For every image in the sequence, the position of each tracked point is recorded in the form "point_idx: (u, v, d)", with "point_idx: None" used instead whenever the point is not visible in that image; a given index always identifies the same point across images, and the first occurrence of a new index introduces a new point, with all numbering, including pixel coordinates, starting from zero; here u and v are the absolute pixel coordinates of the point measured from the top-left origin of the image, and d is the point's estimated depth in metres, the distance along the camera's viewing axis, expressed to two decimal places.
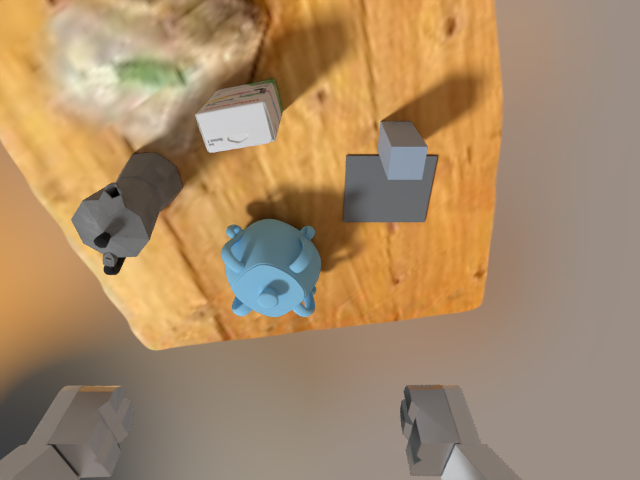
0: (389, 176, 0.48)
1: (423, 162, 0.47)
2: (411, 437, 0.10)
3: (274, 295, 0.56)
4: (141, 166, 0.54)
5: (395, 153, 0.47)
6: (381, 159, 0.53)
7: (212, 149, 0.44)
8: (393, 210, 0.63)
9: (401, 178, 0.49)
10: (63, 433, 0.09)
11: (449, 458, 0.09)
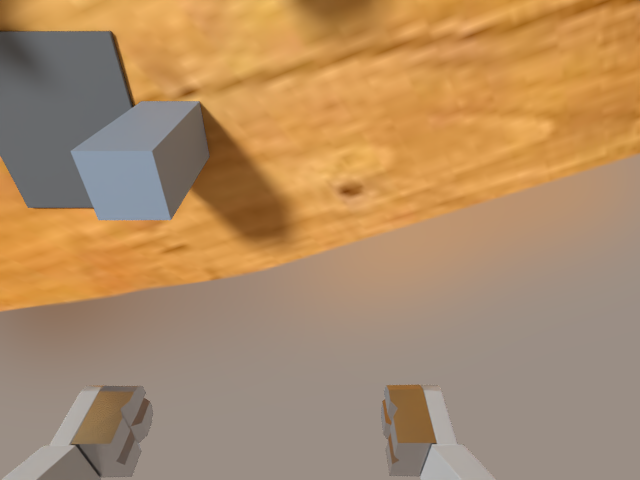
0: (79, 154, 0.21)
1: (136, 217, 0.23)
2: (390, 437, 0.10)
3: None
4: None
5: (138, 160, 0.21)
6: (122, 117, 0.25)
7: None
8: (25, 148, 0.30)
9: (85, 180, 0.21)
10: (87, 433, 0.09)
11: (426, 459, 0.09)
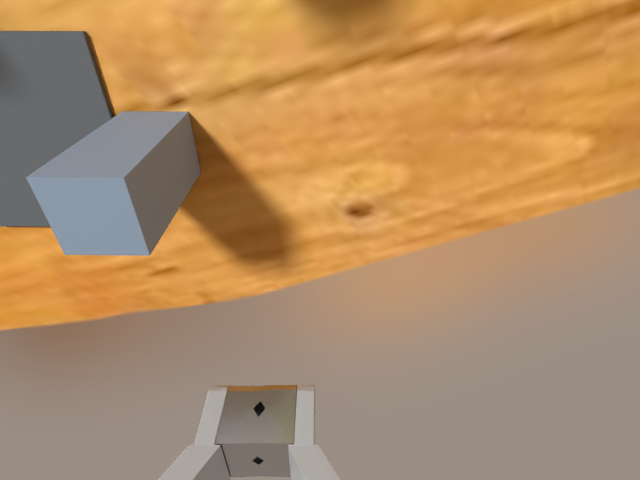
0: (37, 180, 0.17)
1: (109, 252, 0.19)
2: None
3: None
4: None
5: (108, 189, 0.17)
6: (96, 131, 0.22)
7: None
8: None
9: (46, 210, 0.18)
10: (228, 433, 0.09)
11: (290, 459, 0.09)
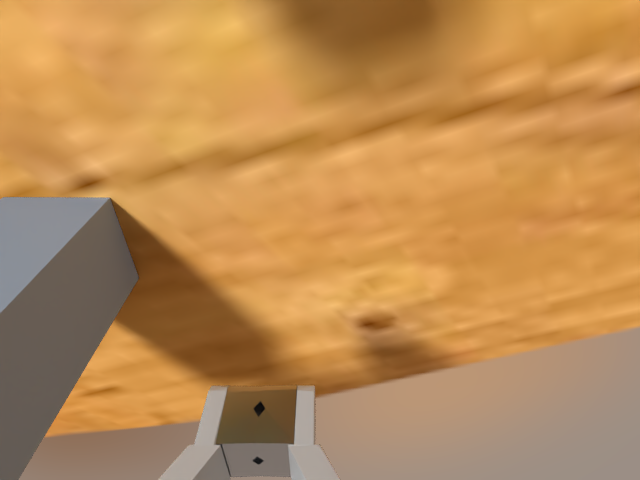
0: None
1: None
2: None
3: None
4: None
5: None
6: None
7: None
8: None
9: None
10: (228, 433, 0.09)
11: (289, 459, 0.09)
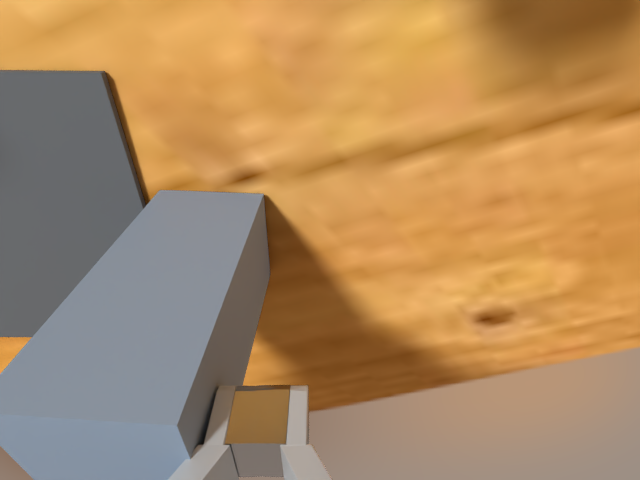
0: None
1: None
2: None
3: None
4: None
5: (142, 437, 0.08)
6: (120, 244, 0.13)
7: None
8: None
9: (14, 453, 0.09)
10: (237, 433, 0.09)
11: (282, 459, 0.09)
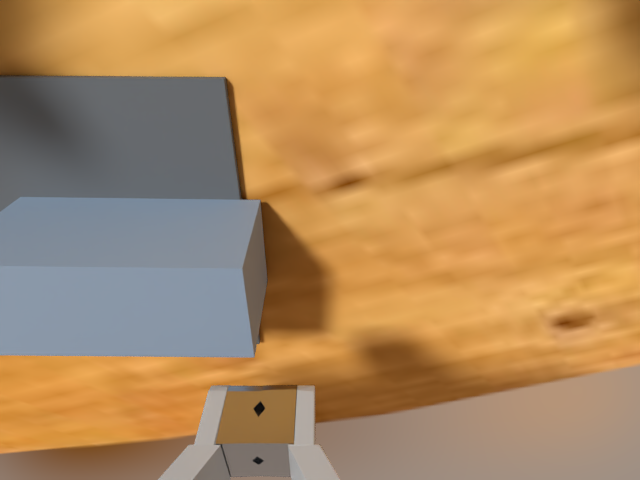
0: None
1: None
2: None
3: None
4: None
5: None
6: (163, 201, 0.15)
7: None
8: None
9: None
10: (228, 433, 0.09)
11: (289, 459, 0.09)
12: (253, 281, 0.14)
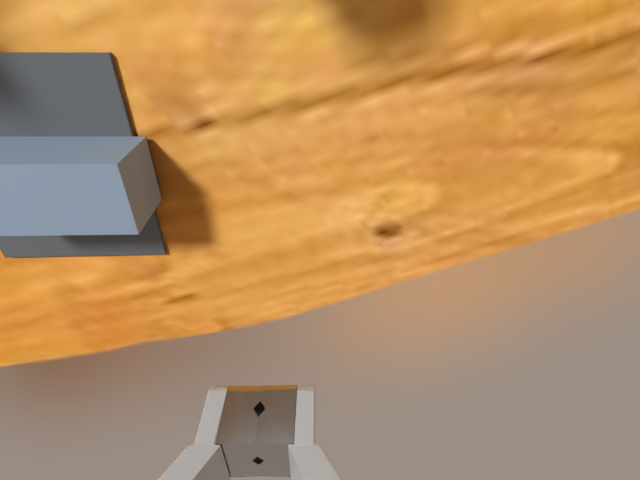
0: None
1: None
2: None
3: None
4: None
5: None
6: (79, 137, 0.23)
7: None
8: None
9: None
10: (228, 433, 0.09)
11: (289, 459, 0.09)
12: (135, 183, 0.22)
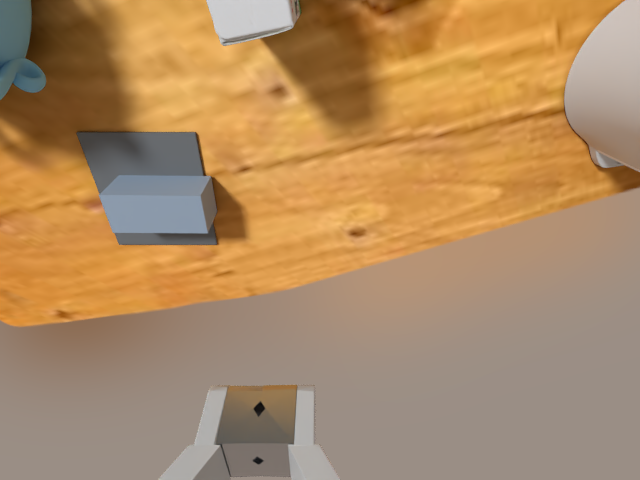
0: None
1: None
2: None
3: None
4: None
5: None
6: (173, 176, 0.40)
7: None
8: None
9: None
10: (228, 433, 0.09)
11: (289, 459, 0.09)
12: (206, 204, 0.39)
